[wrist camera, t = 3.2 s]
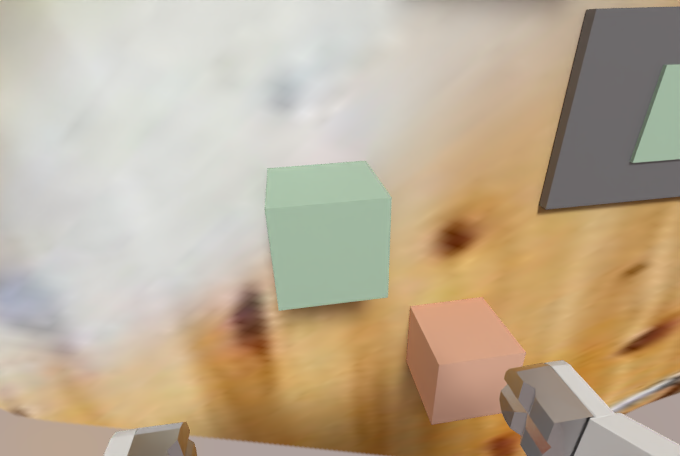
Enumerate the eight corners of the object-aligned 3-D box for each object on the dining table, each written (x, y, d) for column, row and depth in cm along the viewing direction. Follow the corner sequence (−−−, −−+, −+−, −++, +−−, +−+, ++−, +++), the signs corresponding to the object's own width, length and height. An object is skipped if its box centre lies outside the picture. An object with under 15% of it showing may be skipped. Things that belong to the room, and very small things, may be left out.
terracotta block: (481, 296, 25) (526, 352, 20) (471, 350, 27) (509, 411, 23) (409, 305, 24) (439, 365, 20) (405, 360, 26) (431, 424, 22)
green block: (365, 160, 19) (391, 197, 15) (365, 243, 21) (388, 297, 17) (267, 167, 18) (264, 208, 14) (278, 252, 21) (278, 310, 16)
